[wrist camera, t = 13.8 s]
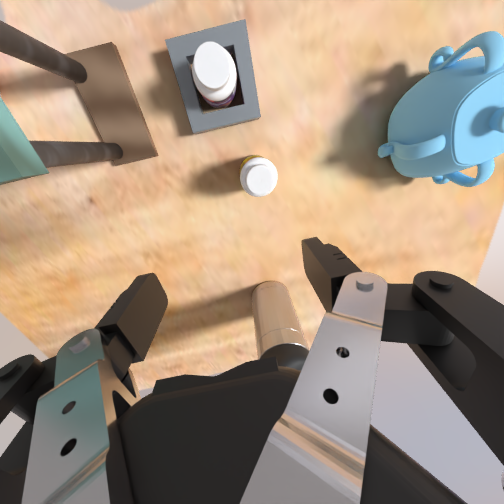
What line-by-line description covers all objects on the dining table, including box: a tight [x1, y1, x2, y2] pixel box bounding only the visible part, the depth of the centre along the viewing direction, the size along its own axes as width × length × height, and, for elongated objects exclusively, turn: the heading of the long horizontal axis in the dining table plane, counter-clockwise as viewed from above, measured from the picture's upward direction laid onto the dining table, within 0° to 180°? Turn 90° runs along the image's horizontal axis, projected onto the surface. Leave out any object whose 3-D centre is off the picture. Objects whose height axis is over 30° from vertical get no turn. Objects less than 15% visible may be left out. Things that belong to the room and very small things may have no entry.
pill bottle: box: [192, 42, 237, 108], centre depth 27 cm, size 5×5×10 cm
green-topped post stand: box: [0, 21, 158, 185], centre depth 18 cm, size 15×11×29 cm
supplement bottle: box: [240, 155, 277, 197], centre depth 32 cm, size 6×6×10 cm
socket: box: [165, 19, 261, 134], centre depth 30 cm, size 10×10×3 cm
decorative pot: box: [378, 31, 504, 187], centre depth 30 cm, size 16×16×14 cm
